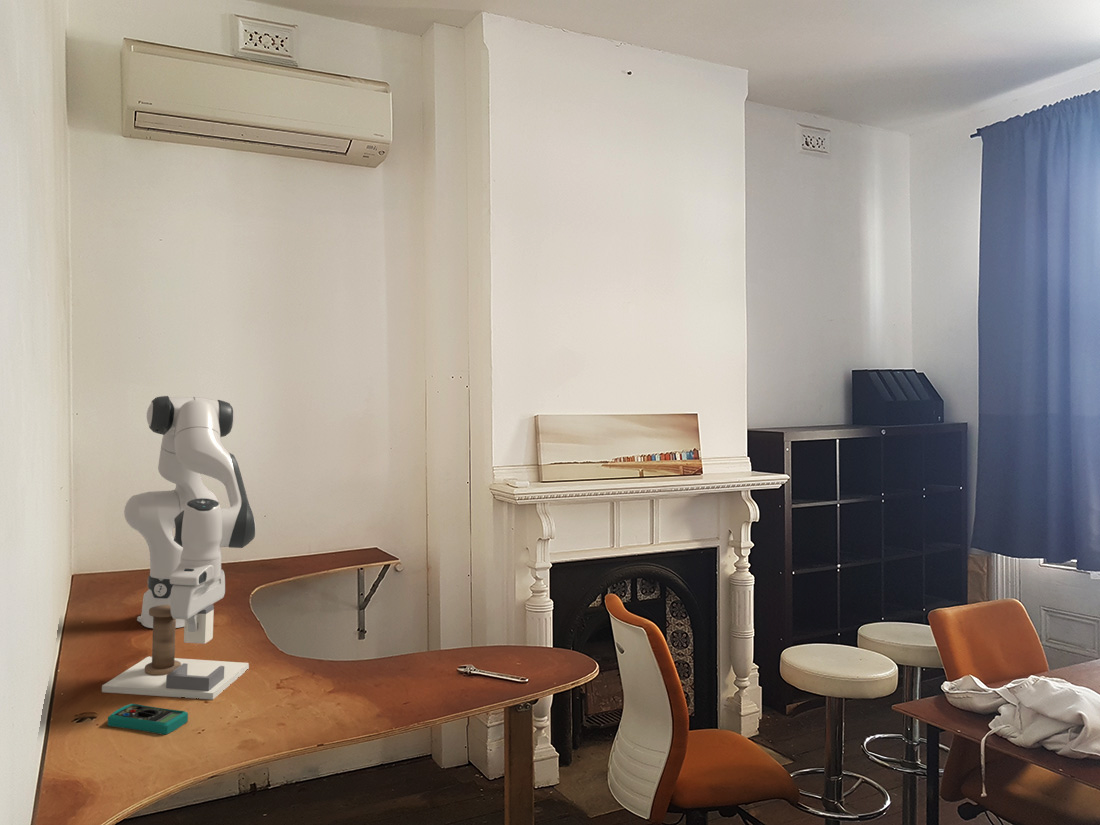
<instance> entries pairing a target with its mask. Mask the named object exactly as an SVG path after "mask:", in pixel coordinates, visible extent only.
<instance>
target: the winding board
mask: <svg viewBox="0 0 1100 825" xmlns="http://www.w3.org/2000/svg"><path fill="white" fill-rule="evenodd" d="M175 660H176V661H179V662H180V663H181V666H179V667H178V668H176V669H175V670H173V671H172V672H171V673H169V674H168V675H159V676H156V675H149V674H146V673H145V666H146V665H147V664H149V663H151V662H152V656H146V657H144V658H143V659H142V660H140V661H139V662H138V663H136V664H133V665H132V666H131V667H129V668H127V669H126V670H125V671H122V672H121V673H120V674H118V675H116V676H115V677H113V678H112V679H110V680H109V681H107V682H106V683H104V684H102V685H101V692H102V693H109V694H124V695H136V696H137V695H139V696H157V697H168V698H169V697H171V698H181V697H185V698H184V699H196V698H197V699H198V698H199V699H198V700H200V699H201V700H212V701H213V700H214V699H216V698H217V697H218V696H219V695H221V693H222V692H224V691H225V690H226V689H227V688H228V687H229V686H231V685H232V684H233V683H234V682H236V681H237V680H238V679H239V678H240V677H241V676H242V675H243V674H245V673H246V672H247V671H248V670H249V668H250V665H249V662H240V661H239V662H237V661H222V660H210V659H207V660H206V659H195V658H193V659H192V658H178V657H177V658H176V657H175ZM247 669H248V670H247ZM246 670H247V671H246ZM245 671H246V672H245ZM238 677H239V678H238ZM230 684H231V685H230ZM223 690H224V691H223Z"/></svg>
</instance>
